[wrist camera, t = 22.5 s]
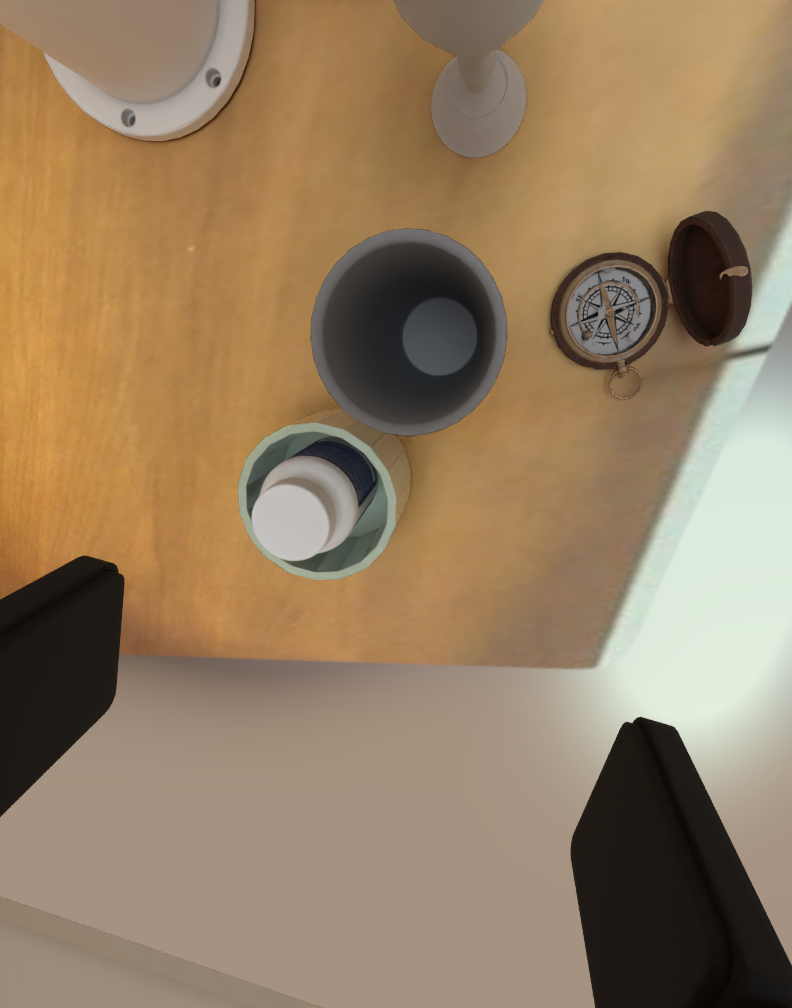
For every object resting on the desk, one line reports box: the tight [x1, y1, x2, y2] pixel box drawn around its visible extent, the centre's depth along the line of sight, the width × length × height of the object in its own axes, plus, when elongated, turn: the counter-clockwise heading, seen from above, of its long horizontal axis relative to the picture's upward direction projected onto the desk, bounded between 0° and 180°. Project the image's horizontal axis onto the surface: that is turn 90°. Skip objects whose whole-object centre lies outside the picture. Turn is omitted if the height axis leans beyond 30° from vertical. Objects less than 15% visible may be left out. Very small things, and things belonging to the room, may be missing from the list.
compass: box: [550, 211, 752, 400], centre depth 28 cm, size 8×8×7 cm
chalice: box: [393, 0, 544, 158], centre depth 21 cm, size 7×7×18 cm
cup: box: [311, 228, 507, 436], centre depth 26 cm, size 7×7×15 cm
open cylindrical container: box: [238, 408, 411, 580], centre depth 33 cm, size 9×9×6 cm
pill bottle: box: [252, 436, 378, 561], centre depth 31 cm, size 5×5×10 cm
